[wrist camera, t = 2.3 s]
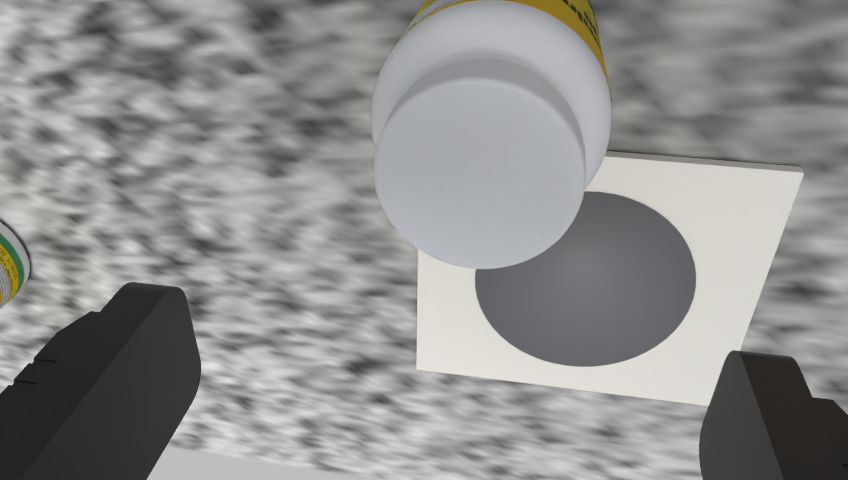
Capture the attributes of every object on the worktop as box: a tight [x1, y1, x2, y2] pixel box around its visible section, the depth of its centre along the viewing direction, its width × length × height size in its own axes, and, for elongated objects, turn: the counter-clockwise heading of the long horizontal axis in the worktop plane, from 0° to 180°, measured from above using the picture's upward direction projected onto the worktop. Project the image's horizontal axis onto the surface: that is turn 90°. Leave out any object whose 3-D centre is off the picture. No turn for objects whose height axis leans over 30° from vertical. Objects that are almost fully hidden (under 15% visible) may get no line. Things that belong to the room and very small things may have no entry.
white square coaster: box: [417, 151, 804, 406], centre depth 28 cm, size 14×12×1 cm
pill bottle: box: [371, 0, 612, 269], centre depth 19 cm, size 6×6×11 cm
